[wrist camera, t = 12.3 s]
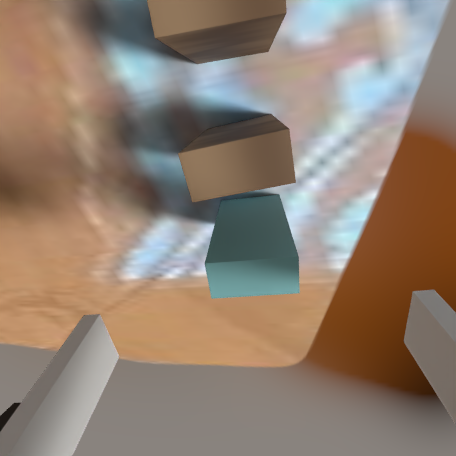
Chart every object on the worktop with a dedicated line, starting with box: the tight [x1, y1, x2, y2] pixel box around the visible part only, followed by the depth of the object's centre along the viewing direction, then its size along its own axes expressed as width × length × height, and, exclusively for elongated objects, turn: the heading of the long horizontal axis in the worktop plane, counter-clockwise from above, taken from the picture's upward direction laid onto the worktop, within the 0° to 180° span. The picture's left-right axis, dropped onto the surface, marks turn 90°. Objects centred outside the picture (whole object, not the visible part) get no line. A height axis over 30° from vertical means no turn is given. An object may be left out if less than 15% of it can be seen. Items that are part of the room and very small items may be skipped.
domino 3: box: [205, 195, 299, 298], centre depth 20 cm, size 5×2×10 cm, turn 98°
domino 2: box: [178, 114, 296, 202], centre depth 17 cm, size 5×2×10 cm, turn 103°
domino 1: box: [147, 0, 286, 64], centre depth 14 cm, size 5×2×10 cm, turn 98°
